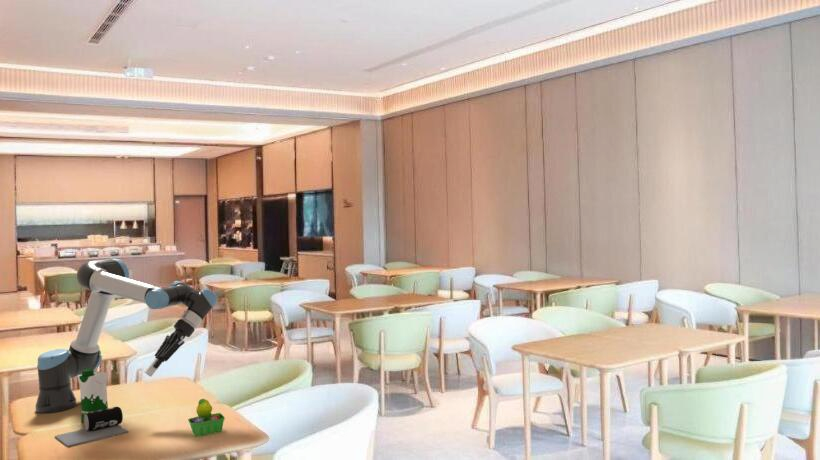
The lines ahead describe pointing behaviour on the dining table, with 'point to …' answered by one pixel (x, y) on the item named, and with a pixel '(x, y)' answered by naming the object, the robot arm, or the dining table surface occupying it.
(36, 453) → the dining table surface
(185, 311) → the robot arm
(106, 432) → the mat
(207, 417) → the fruit basket
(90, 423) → the beverage can
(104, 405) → the milk carton
